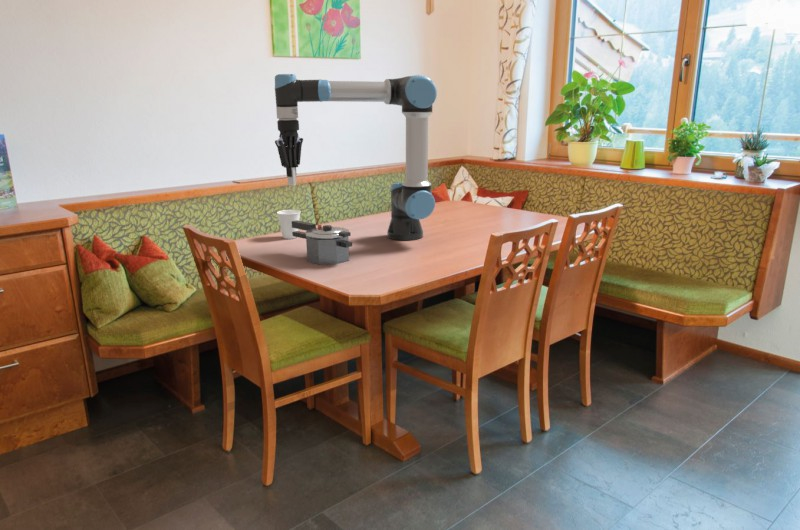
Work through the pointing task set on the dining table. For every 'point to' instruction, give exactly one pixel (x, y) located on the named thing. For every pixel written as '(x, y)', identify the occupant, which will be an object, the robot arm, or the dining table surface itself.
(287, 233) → the cup
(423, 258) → the dining table surface
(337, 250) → the cooker pot
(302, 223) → the lid
